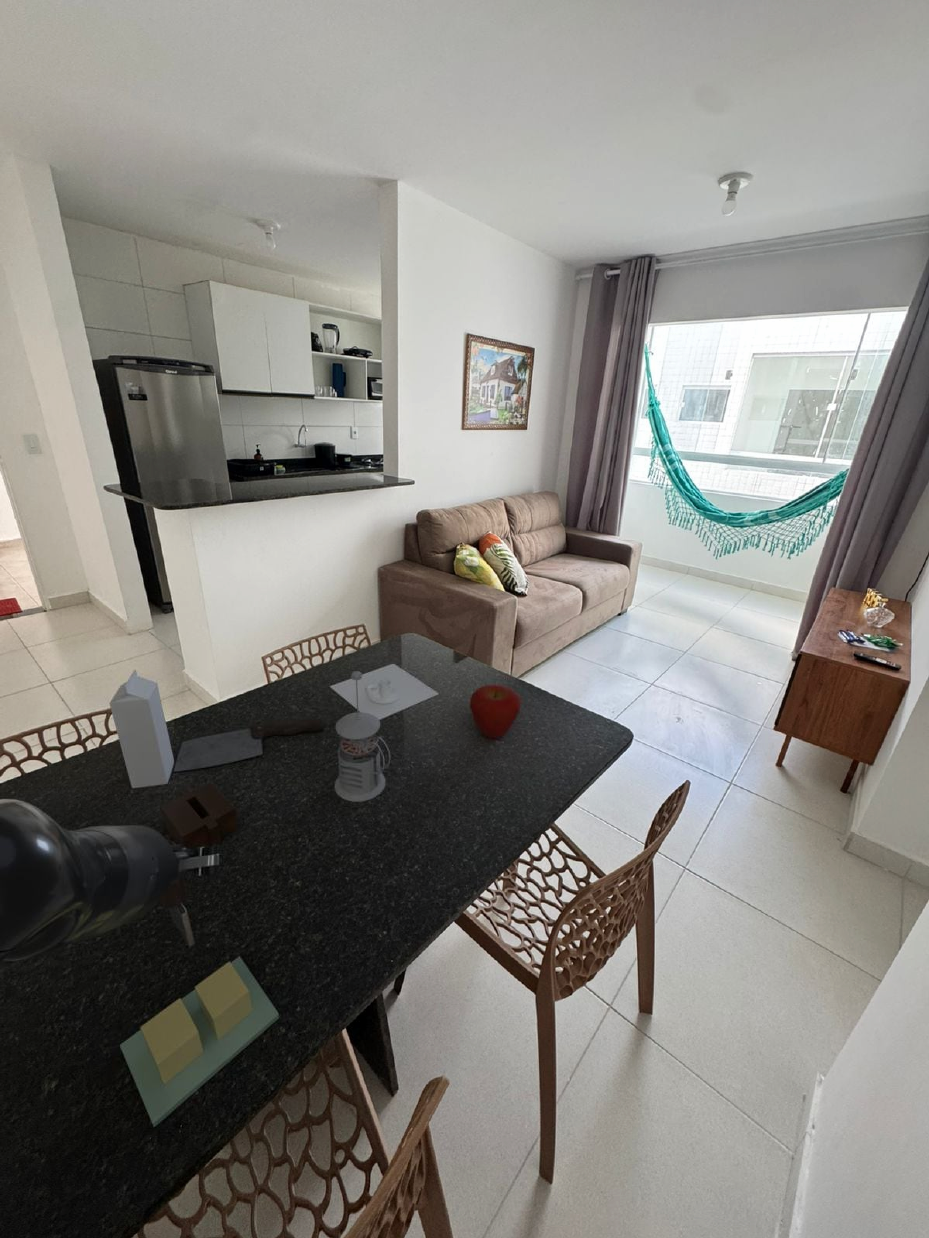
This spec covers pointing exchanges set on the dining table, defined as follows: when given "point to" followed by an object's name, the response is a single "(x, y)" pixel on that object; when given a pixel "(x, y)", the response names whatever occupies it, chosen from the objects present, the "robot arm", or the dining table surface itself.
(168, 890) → the wood-handled utensil
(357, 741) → the french press
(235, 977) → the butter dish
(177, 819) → the knife block
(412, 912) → the dining table surface
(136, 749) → the milk
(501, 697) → the apple
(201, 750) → the cleaver
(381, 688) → the teacup and saucer
